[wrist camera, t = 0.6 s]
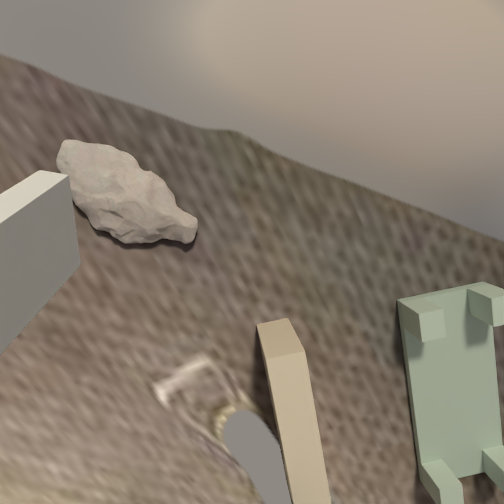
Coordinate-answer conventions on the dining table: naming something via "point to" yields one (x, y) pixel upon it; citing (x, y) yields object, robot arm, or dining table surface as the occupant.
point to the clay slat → (294, 412)
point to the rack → (454, 385)
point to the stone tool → (122, 195)
